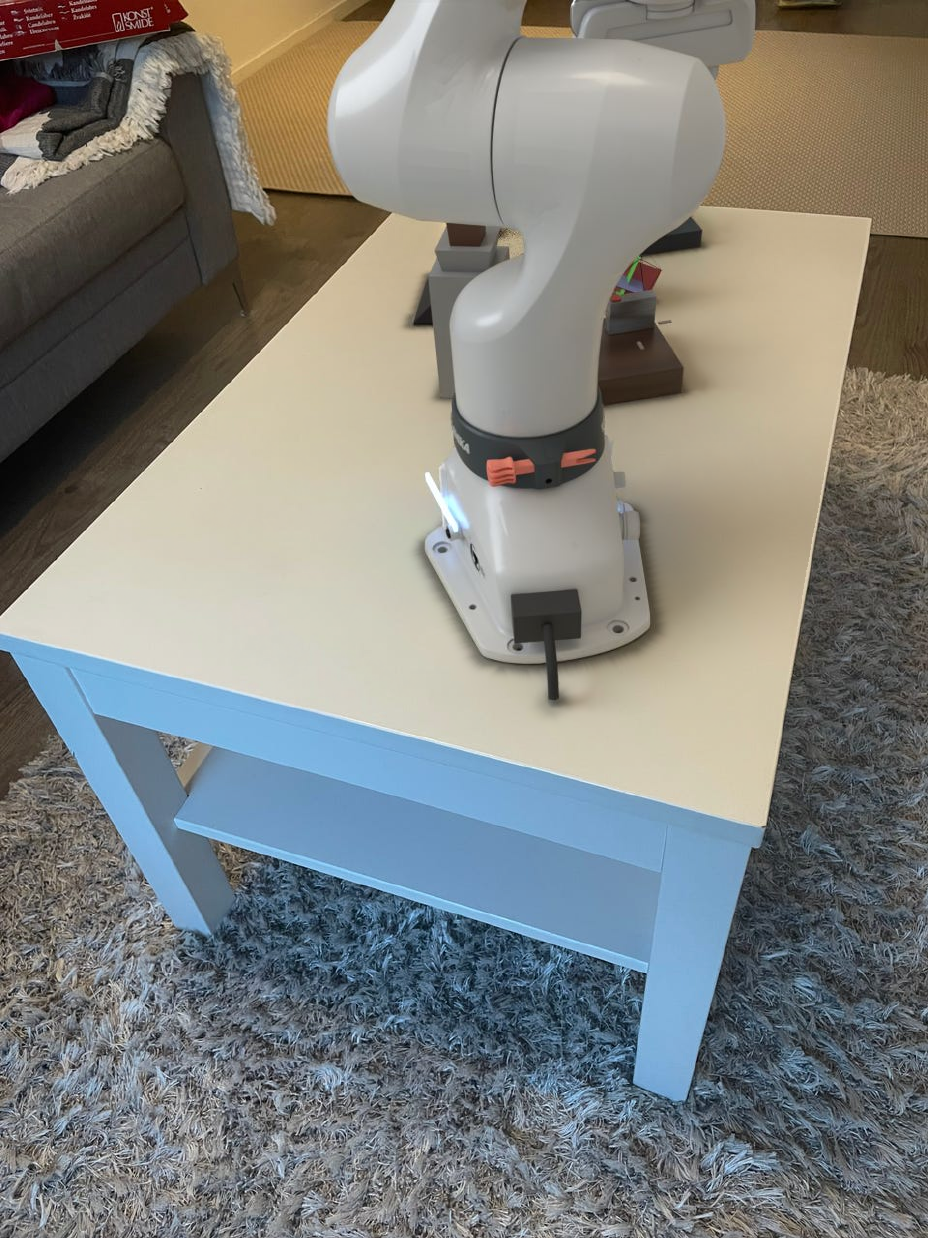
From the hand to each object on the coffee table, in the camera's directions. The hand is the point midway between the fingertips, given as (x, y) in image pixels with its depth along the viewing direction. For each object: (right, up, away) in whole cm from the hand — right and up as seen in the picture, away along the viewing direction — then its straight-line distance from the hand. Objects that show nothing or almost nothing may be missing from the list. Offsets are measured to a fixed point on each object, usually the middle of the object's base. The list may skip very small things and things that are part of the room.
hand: (657, 115), depth 110 cm
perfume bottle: (-21, -32, -6) cm, 39 cm away
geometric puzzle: (-3, -20, +3) cm, 21 cm away
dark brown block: (-5, -30, -6) cm, 31 cm away
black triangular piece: (-24, -19, +7) cm, 31 cm away
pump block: (+2, -7, +16) cm, 17 cm away
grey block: (-4, -26, -7) cm, 28 cm away
